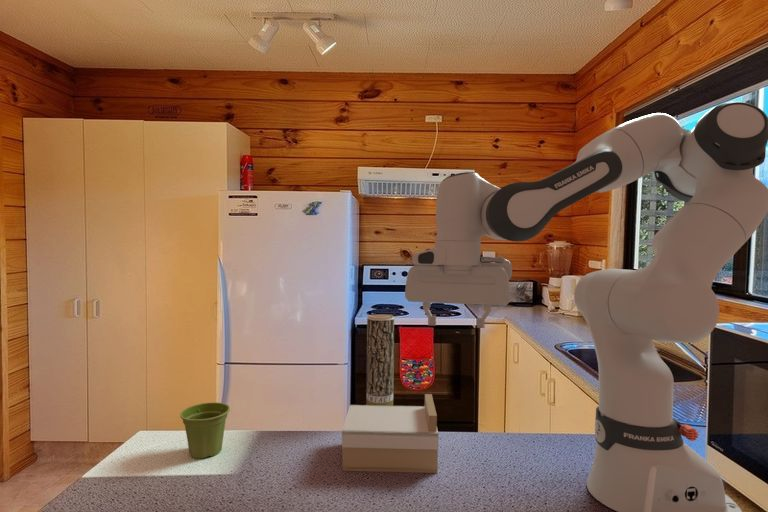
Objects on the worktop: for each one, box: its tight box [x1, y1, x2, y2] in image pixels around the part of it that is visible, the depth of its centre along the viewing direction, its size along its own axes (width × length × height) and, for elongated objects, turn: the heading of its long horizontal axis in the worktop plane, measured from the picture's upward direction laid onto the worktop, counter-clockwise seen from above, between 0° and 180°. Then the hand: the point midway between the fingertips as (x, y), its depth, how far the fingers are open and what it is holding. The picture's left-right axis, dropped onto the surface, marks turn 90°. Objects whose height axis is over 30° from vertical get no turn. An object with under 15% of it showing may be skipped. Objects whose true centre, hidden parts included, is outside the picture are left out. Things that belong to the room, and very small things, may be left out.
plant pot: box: [179, 401, 231, 460], centre depth 89 cm, size 9×9×9 cm
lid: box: [341, 393, 439, 451], centre depth 88 cm, size 18×14×6 cm
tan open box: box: [341, 447, 439, 474], centre depth 88 cm, size 18×12×7 cm, turn 88°
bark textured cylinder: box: [366, 313, 395, 406], centre depth 110 cm, size 7×7×25 cm
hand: (455, 326), depth 86 cm, fingers open, 8 cm apart
